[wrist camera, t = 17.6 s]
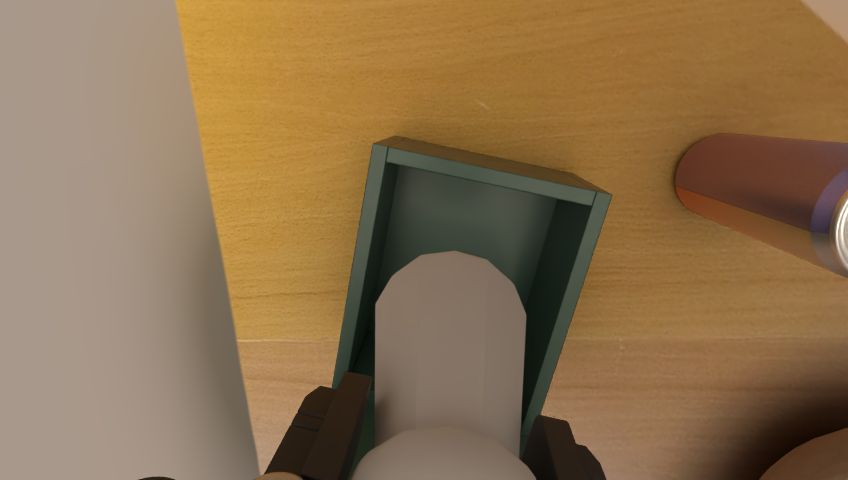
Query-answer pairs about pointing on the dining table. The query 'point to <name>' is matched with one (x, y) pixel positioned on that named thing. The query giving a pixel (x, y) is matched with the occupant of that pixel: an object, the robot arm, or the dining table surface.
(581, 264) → the chest
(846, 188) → the beverage can
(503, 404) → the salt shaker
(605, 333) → the dining table surface
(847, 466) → the bowl
